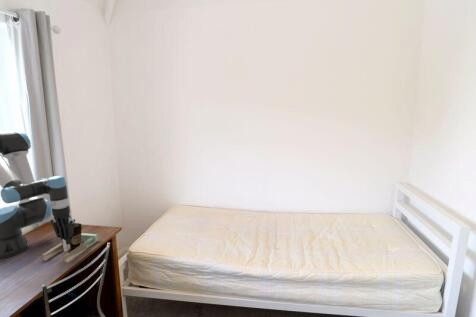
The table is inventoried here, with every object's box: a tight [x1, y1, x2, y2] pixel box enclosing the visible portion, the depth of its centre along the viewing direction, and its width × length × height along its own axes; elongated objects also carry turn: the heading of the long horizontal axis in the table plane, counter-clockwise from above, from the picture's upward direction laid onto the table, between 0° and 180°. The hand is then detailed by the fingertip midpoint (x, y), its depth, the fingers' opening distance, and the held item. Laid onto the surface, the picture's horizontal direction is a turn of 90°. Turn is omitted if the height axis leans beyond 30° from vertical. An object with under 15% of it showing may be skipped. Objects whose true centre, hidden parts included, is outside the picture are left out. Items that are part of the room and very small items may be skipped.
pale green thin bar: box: [41, 242, 64, 262], centre depth 145 cm, size 2×20×3 cm, turn 170°
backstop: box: [81, 232, 99, 243], centre depth 155 cm, size 14×2×4 cm, turn 80°
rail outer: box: [63, 237, 96, 263], centre depth 143 cm, size 2×20×3 cm, turn 170°
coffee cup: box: [68, 222, 83, 252], centre depth 146 cm, size 9×8×13 cm
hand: (67, 249), depth 142 cm, fingers closed
